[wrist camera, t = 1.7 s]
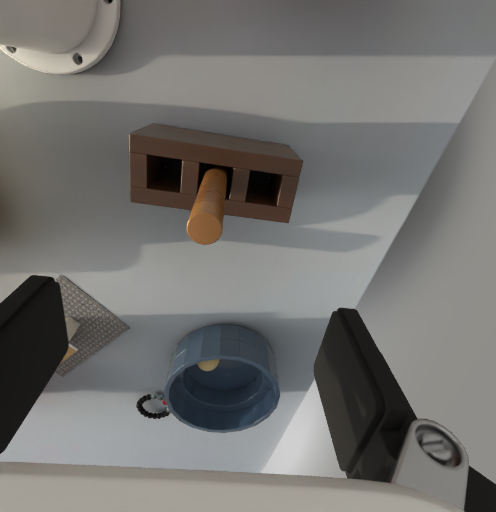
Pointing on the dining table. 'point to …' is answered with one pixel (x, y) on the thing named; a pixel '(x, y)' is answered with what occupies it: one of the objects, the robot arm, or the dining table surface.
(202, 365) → the dough ball
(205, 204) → the stick
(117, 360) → the dining table surface
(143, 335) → the dining table surface
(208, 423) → the mixing bowl
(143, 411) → the bracelet
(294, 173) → the rack
